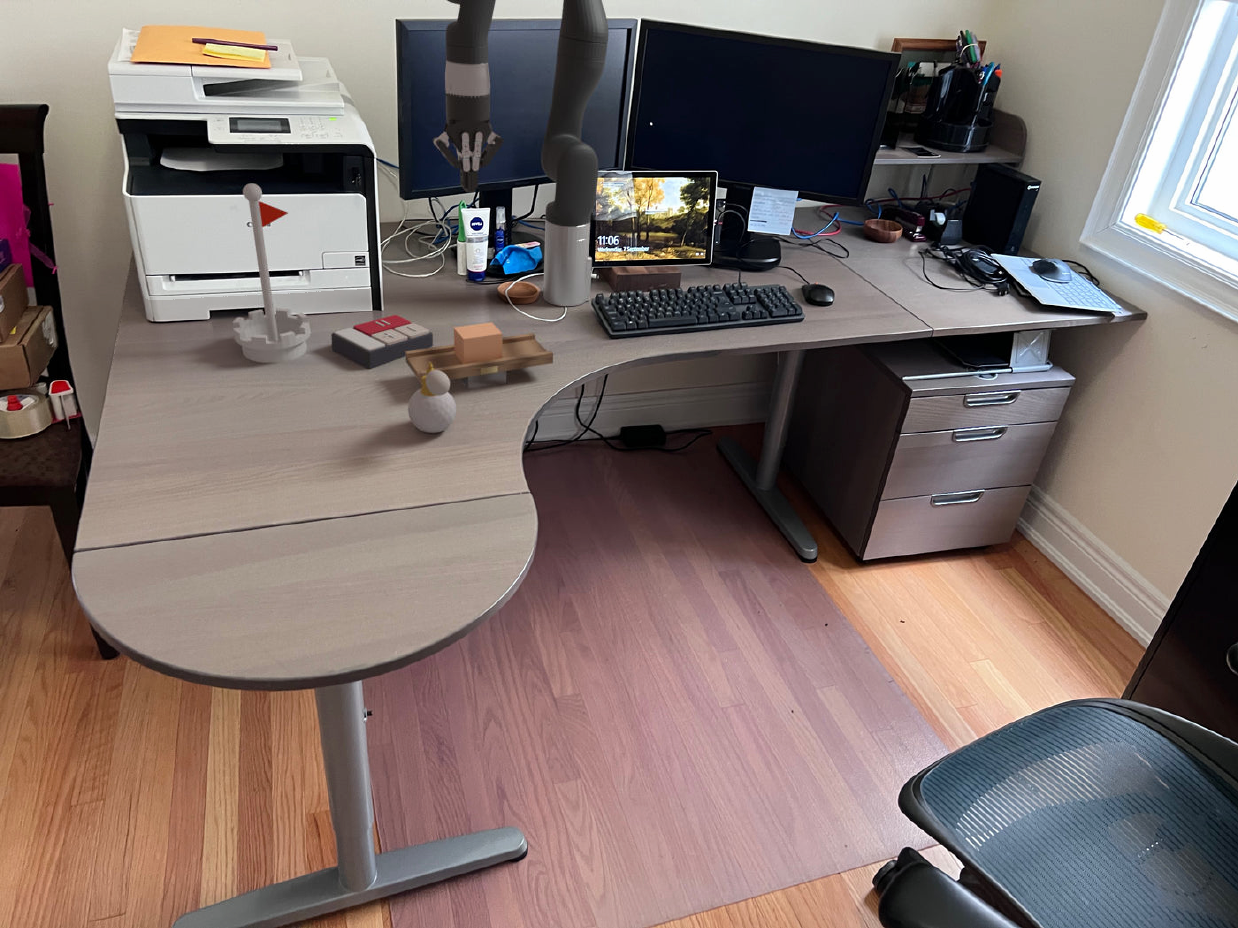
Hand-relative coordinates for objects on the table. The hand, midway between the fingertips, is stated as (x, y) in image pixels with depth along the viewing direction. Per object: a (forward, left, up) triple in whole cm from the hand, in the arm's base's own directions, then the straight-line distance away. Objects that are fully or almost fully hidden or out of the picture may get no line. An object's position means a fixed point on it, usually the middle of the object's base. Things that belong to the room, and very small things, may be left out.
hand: (469, 190), depth 164 cm
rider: (+6, +21, -23) cm, 32 cm away
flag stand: (+37, -2, -27) cm, 46 cm away
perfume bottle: (+19, +36, -27) cm, 49 cm away
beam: (+6, +21, -27) cm, 35 cm away
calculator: (+19, +3, -28) cm, 33 cm away
